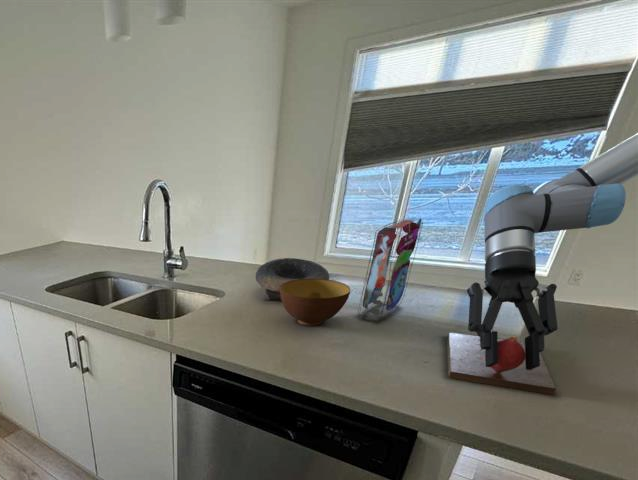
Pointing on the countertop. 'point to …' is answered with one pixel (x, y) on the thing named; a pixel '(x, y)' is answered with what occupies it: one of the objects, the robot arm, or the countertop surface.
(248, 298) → the countertop surface
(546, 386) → the cutting board
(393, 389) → the countertop surface
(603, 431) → the countertop surface
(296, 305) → the bowl
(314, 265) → the grinding stone
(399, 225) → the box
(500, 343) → the onion
